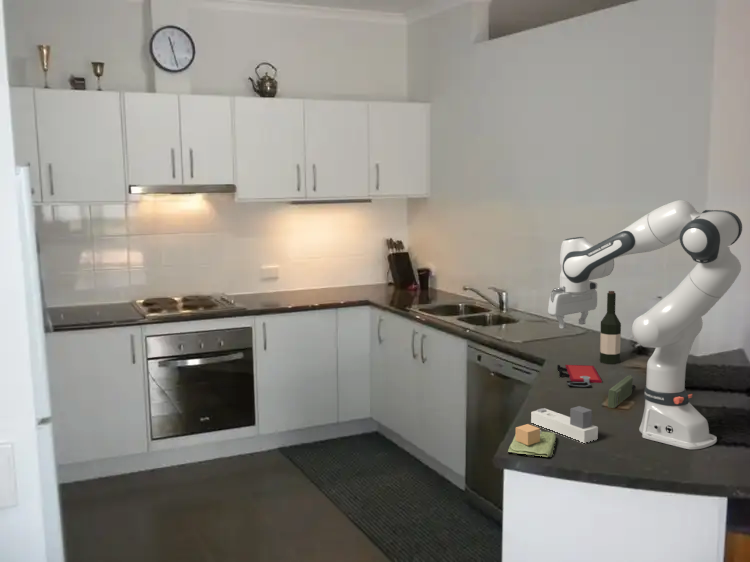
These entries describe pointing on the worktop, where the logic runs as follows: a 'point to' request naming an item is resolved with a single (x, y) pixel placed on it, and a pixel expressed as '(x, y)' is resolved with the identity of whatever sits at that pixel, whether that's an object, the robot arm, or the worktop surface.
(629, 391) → the handheld radio
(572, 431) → the power strip
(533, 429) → the orange charger
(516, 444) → the washcloth
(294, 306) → the worktop surface
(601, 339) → the wine bottle
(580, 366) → the red board with handle
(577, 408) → the block
